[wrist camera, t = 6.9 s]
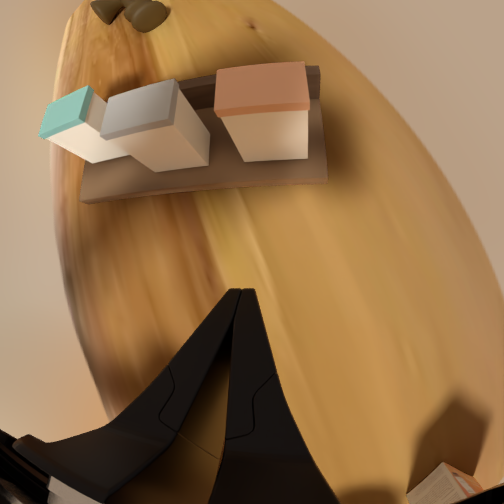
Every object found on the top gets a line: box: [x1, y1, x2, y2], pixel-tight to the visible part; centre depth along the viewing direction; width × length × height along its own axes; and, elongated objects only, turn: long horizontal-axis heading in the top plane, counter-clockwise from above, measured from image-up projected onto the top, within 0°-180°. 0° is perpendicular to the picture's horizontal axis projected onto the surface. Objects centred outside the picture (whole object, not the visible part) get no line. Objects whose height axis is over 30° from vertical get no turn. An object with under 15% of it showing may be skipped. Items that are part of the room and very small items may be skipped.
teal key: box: [38, 85, 130, 164], centre depth 21 cm, size 3×5×8 cm, turn 90°
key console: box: [79, 66, 328, 204], centre depth 23 cm, size 9×24×5 cm, turn 90°
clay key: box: [214, 61, 310, 162], centre depth 18 cm, size 3×5×8 cm, turn 90°
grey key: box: [100, 78, 210, 172], centre depth 19 cm, size 3×5×8 cm, turn 90°
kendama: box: [90, 0, 167, 33], centre depth 28 cm, size 6×10×20 cm
